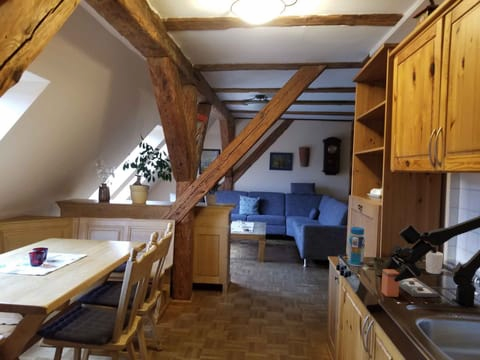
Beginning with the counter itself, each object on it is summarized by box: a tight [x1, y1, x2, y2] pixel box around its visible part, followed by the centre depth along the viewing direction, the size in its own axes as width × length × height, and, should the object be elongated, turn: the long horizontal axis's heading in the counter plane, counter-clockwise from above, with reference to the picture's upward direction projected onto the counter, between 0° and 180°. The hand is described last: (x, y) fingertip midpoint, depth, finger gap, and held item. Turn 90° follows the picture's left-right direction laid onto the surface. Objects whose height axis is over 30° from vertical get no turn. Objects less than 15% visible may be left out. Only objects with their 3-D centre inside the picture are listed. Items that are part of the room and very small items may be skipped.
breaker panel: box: [399, 277, 440, 298], centre depth 151 cm, size 20×11×2 cm, turn 1°
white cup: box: [425, 251, 444, 275], centre depth 173 cm, size 8×8×10 cm
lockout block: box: [380, 269, 400, 298], centre depth 143 cm, size 5×5×10 cm
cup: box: [372, 257, 390, 277], centre depth 166 cm, size 8×7×8 cm
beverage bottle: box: [347, 226, 366, 267], centre depth 182 cm, size 8×8×20 cm
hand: (389, 276), depth 143 cm, fingers open, 9 cm apart
